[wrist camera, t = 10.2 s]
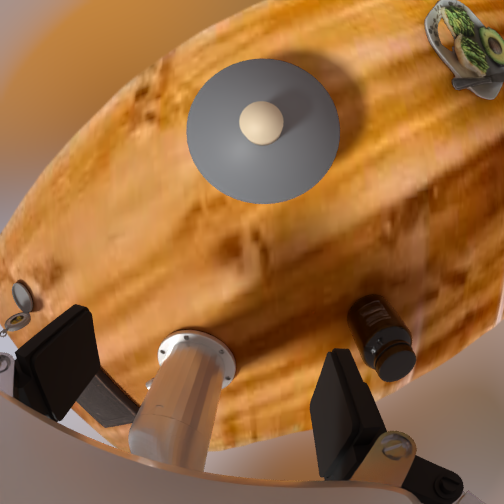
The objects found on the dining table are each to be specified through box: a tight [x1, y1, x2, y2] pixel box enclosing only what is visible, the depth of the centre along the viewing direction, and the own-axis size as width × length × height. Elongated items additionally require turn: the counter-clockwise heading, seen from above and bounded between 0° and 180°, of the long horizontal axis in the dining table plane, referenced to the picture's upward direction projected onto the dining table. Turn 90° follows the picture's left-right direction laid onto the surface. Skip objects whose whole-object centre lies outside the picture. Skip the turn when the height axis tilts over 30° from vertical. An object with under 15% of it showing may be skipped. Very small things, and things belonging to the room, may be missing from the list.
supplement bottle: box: [347, 295, 416, 382], centre depth 31 cm, size 7×7×12 cm
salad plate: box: [425, 0, 504, 100], centre depth 21 cm, size 19×18×5 cm
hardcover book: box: [76, 369, 140, 428], centre depth 46 cm, size 16×23×2 cm
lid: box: [187, 59, 340, 204], centre depth 23 cm, size 15×15×5 cm
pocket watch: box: [0, 283, 33, 337], centre depth 37 cm, size 8×8×10 cm
